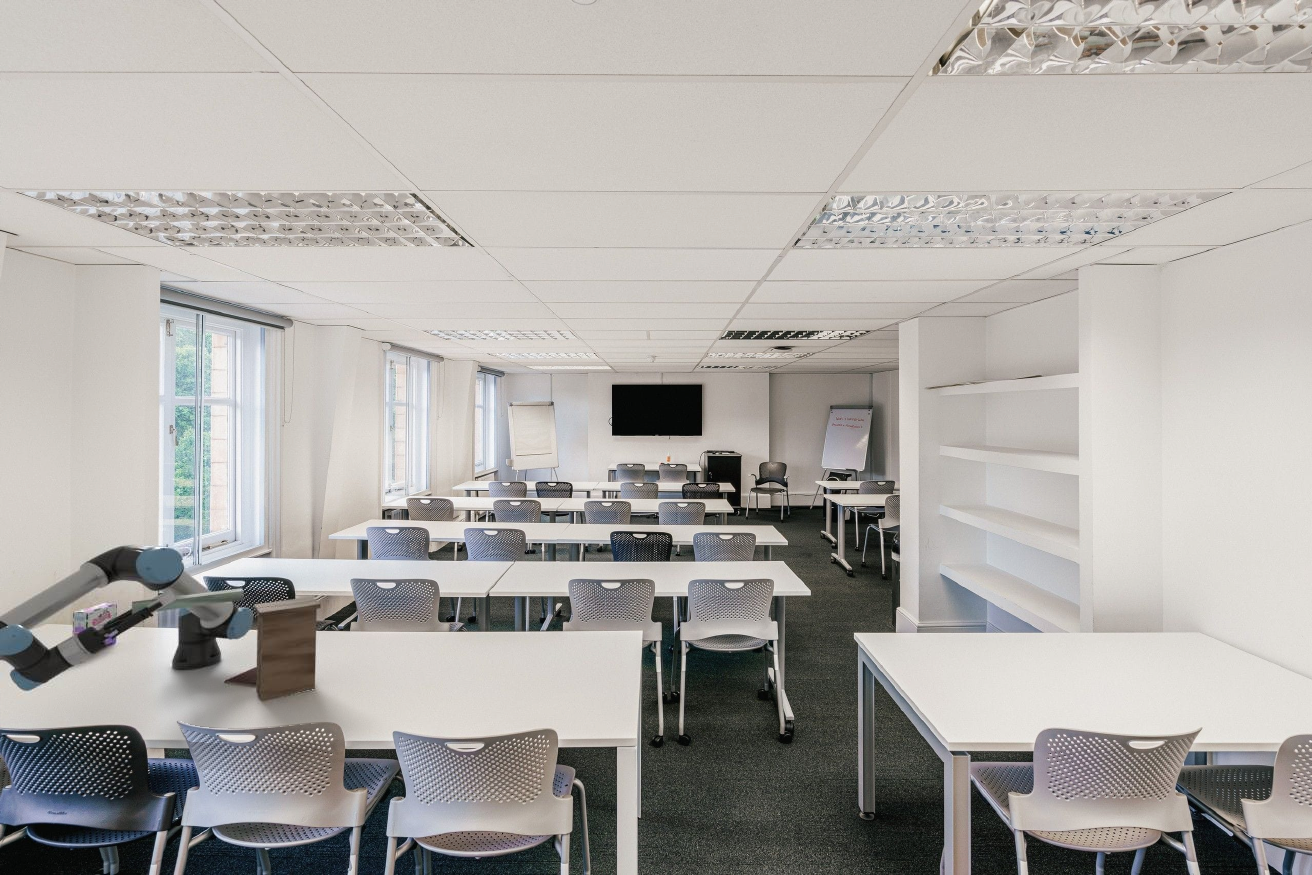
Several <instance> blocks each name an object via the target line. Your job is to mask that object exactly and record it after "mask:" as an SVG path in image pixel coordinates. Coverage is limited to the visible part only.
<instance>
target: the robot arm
mask: <svg viewBox="0 0 1312 875" xmlns="http://www.w3.org/2000/svg"><path fill="white" fill-rule="evenodd" d="M183 560H184V559H183V556H182V554H181V553H180V552H179V551H178V550H176V549H174V548H173V547H168V546H163V545H156V546H155V545H153V546H152V545H141V544H125V545H120V546H117V547H114V548H112V549H109V550H107V551H105V552H103V553H100V554H98V555H96V556H95V557H93V558H91V559H89V560H87V561H86V562H84V563H82V564H81V565H80V566H79V569H78V570H77V571H75V572H73V573H72V574H69V575H68V576H67V577H65V578H63V579H62V580H59V581H58V582H56V583H54V584H53V585H51V586H49V587H48V588H46V589H44V590H43V591H41V592H39V593H38V594H36V595H34V596H32V597H31V598H29V599H27V600H25V601H23V602H22V603H20V604H18V605H17V606H16V607H13V608H12V609H10V610H8V611H7V612H5V613H3V614H1V615H0V661H3V662H6V663H7V664H8V665H10V666H11V667H12V668H13V669H12V670H11V671H10V672H9V676H10V679H11V680H12V682H13V683H14V684H15V685H16V687H18V688H19V689H20V690H22V691H23V692H29V691H32V690H34V689H36V688H37V687H38V688H39V687H40V686H42V685H44V684H46V683H48V682H49V681H51V680H53V679H54V678H55V677H57V676H59V675H60V674H62V673H64V672H66V670H68V669H70V668H73V667H74V666H75V665H77V664H80V665H81V664H83V663H84V660H86V659H88V658H89V657H91V655H94V654H97V653H99V652H101V651H102V650H103V649H106V647H107V646H108V645H107V643H106V641H105V640H106V639H108V638H110V637H111V638H112V639H113V638H115V637H116V638H117V637H118V636H120V635H121V634H123V633H125V632H126V631H128V630H129V629H131V628H133V627H135V626H136V625H138V624H140V623H142V622H143V621H145V620H147V619H149V618H152V617H154V613H155V612H158V611H157V610H159V609H161V608H162V607H164V606H166V605H168V604H169V603H171V602H173V601H175V600H176V598H175V596H183V595H191V594H199V593H208V592H212V591H211V590H209V589H208V588H207V587H206V586H204V585H203V584H202V583H200V582H199V581H198V580H197V579H196V578H194V577H193V576H191V575H190V574H188V573H187V572H186V571H185V564H184V562H183ZM120 581H126V582H127V581H128V582H137V583H140V584H141V585H142V586H144V587H146V588H147V589H149V591H153V592H162V593H160V594H158V595H157V596H154V597H153V598H152V599H158V600H156V601H154V602H153V603H151V604H149V605H147V607H148V608H147V607H146V608H144V609H142V610H140V611H138V612H136V613H134V614H132V608H131V609H129V610H127V611H125V612H123V613H121V614H119V615H117V617H116V618H114V619H112V620H109V621H108V622H107V623H106V624H104V625H103V626H104V627H102V628H101V629H100V630H96V629H95V628H94V627H88V628H87V629H85V630H83V631H81V632H80V633H78V634H77V636H73V635H71V636H70V637H69V638H67V639H65V640H63V641H62V642H60V643H57V644H56V645H55V646H53V647H51V648H48V647H47V646H46V645H45V644H43V642H41V641H40V640H39V639H38V638H37V637H36V636H35V635H34V634H33V632H32V631H30V630H31V629H33V628H35V627H36V626H38V625H40V624H41V623H43V622H45V621H46V620H47V619H49V618H50V617H52V616H54V615H56V614H57V613H58V612H60V611H62V610H64V609H65V608H66V607H69V606H70V605H71V604H73V603H75V602H76V601H78V600H80V599H82V598H83V597H85V596H86V595H87V594H90V593H91V592H93V591H95V590H96V589H103V588H105V587H107V586H109V585H110V584H113V583H115V582H120ZM159 598H160V599H159ZM177 618H178V620H177V621H178V628H177V629H178V632H177V633H178V635H177V636H178V638H177V639H178V642H177V643H178V644H177V647H176V650H175V653H174V655H173V657H172V660H171V667H172V668H173V669H175V670H193V669H194V670H195V669H200V668H204V667H208V666H211V665H214V664H216V663H218V662H219V661H221V660H222V652H221V648H220V647H219V644H218V642H217V638H218V639H227V640H240V639H241V638H243V637H245V636H246V635H247V633H248V632H249V631H250V629H251V627H252V625H253V623H254V620H253V619H254V613H253V611H252V610H251V609H250V608H249V607H246V606H243V607H242V606H238V605H237V604H236V603H234V601H231V602H224V603H216V604H208V605H201V606H193V607H186V608H179V611H178V617H177Z"/></svg>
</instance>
